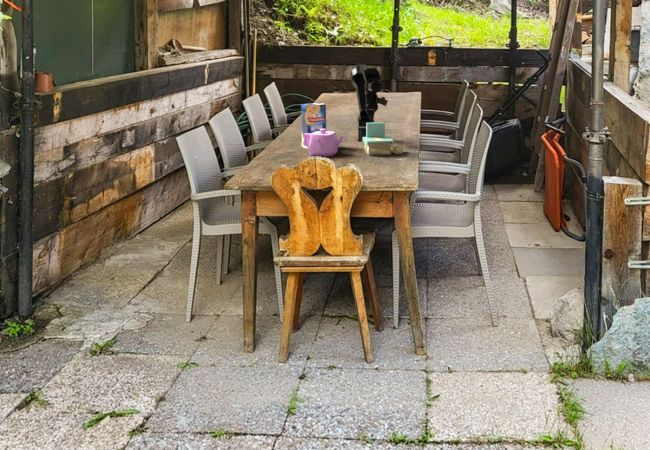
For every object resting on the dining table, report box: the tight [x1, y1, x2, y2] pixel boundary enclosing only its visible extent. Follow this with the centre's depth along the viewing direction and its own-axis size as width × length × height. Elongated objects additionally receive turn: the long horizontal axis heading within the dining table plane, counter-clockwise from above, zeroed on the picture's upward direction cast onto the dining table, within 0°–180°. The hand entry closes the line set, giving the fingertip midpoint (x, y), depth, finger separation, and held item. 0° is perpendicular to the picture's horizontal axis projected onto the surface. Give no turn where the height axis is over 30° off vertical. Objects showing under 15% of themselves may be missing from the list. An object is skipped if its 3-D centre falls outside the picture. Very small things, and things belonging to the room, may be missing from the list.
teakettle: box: [303, 128, 346, 157], centre depth 417 cm, size 17×17×12 cm
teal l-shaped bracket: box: [362, 121, 395, 146], centre depth 415 cm, size 14×13×9 cm
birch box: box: [363, 142, 392, 157], centre depth 417 cm, size 14×11×6 cm
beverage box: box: [300, 102, 327, 149], centre depth 436 cm, size 7×11×22 cm, turn 118°
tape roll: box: [392, 145, 404, 155], centre depth 417 cm, size 5×5×3 cm
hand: (371, 122), depth 440 cm, fingers closed
